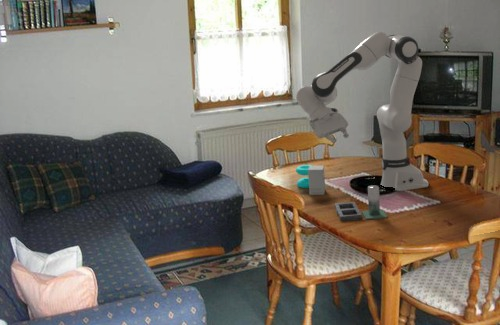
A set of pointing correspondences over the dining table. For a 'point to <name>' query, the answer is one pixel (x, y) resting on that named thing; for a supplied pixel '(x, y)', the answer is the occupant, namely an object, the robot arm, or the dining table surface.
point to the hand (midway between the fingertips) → (341, 139)
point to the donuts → (303, 171)
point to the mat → (367, 216)
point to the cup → (373, 200)
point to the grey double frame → (348, 211)
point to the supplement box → (316, 180)
